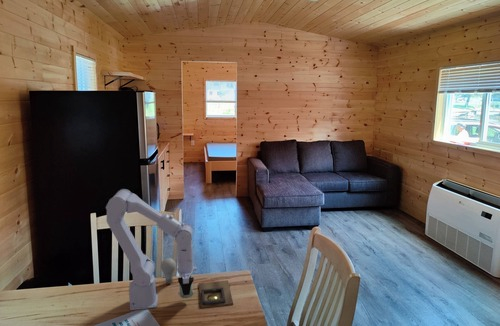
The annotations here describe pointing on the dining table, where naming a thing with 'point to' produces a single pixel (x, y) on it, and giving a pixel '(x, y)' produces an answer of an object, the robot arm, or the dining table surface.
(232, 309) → the dining table surface
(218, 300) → the dark grey square frame
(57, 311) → the dining table surface
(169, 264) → the lightbulb
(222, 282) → the board
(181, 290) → the pale green pear shape
